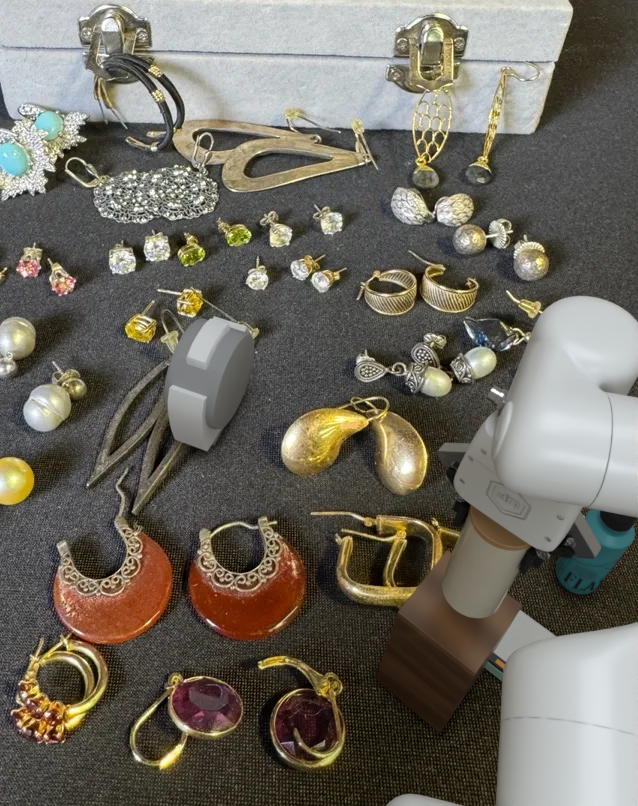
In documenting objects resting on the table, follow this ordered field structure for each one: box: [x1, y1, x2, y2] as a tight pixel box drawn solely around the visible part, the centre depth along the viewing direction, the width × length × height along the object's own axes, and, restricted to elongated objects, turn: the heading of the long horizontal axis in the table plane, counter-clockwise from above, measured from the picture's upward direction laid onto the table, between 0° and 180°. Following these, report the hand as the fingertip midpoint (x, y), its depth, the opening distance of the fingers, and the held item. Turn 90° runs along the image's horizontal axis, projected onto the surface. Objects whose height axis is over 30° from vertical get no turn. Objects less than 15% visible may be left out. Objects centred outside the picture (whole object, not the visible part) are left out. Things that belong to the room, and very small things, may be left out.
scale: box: [484, 609, 557, 682], centre depth 107 cm, size 9×9×3 cm
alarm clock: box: [163, 315, 255, 452], centre depth 126 cm, size 18×8×20 cm, turn 157°
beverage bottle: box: [555, 508, 637, 595], centre depth 108 cm, size 6×7×20 cm
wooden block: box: [375, 549, 524, 734], centre depth 98 cm, size 10×10×22 cm
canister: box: [442, 504, 532, 618], centre depth 79 cm, size 7×7×16 cm
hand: (496, 538), depth 77 cm, fingers closed on canister, 6 cm apart
